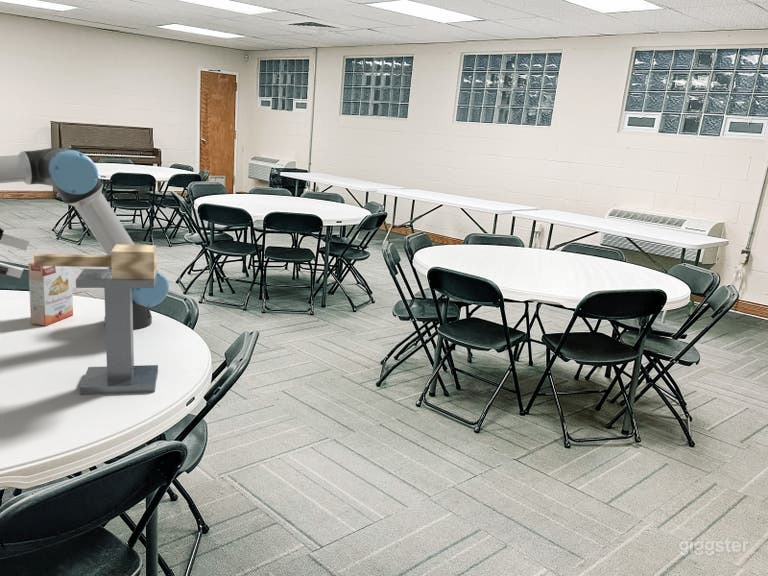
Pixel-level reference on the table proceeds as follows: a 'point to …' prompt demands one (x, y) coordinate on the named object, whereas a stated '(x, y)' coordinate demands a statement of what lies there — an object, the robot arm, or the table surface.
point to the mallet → (110, 261)
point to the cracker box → (50, 293)
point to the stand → (117, 337)
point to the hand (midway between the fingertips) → (24, 259)
